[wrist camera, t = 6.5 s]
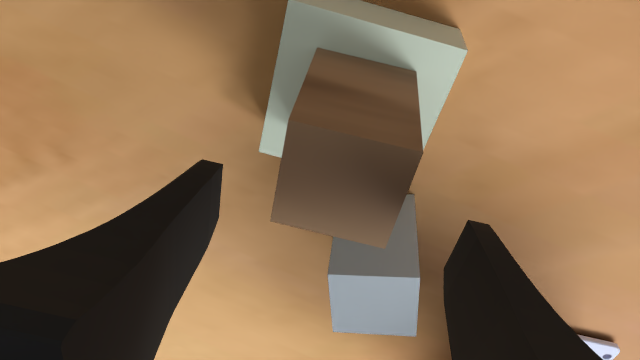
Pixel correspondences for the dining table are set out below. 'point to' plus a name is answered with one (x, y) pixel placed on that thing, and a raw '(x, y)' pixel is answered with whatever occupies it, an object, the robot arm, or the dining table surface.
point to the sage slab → (361, 55)
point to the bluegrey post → (377, 281)
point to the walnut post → (349, 149)
